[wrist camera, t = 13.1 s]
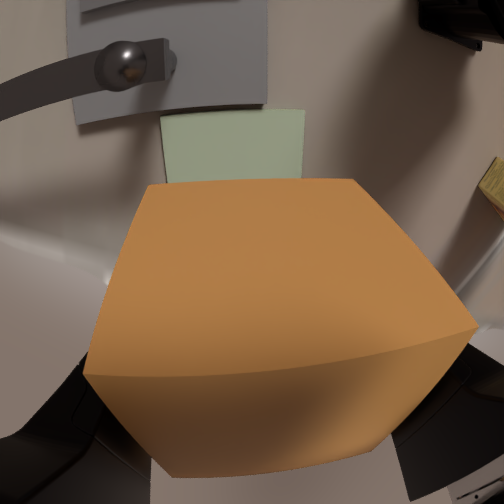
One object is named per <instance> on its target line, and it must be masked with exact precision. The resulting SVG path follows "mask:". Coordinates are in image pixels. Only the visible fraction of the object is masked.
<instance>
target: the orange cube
mask: <svg viewBox="0 0 504 504" xmlns="http://www.w3.org/2000/svg"><path fill="white" fill-rule="evenodd" d="M478 327H479V326H478V324H477V323H476V322H475V320H474V319H473V317H472V316H471V314H470V313H469V312H468V310H467V309H466V308H465V306H464V305H463V303H462V302H461V301H460V299H459V298H458V297H457V295H456V294H455V293H454V291H453V290H452V289H451V288H450V286H449V285H448V284H447V282H446V281H445V280H444V279H443V277H442V276H441V275H440V274H439V272H438V271H437V270H436V269H435V267H434V266H433V265H432V264H431V262H430V261H429V260H428V259H427V258H426V256H425V255H424V254H423V253H422V252H421V251H420V249H419V248H418V247H417V246H416V245H415V244H414V242H413V241H412V240H411V239H410V238H409V237H408V236H407V235H406V233H405V232H404V231H403V230H402V229H401V228H400V227H399V226H398V225H397V224H396V222H395V221H394V220H393V219H392V218H391V217H390V216H389V215H388V214H387V213H386V212H385V211H384V210H383V209H382V208H381V207H380V205H379V204H378V203H377V202H376V201H375V200H374V199H373V198H372V197H371V196H370V195H369V194H368V193H367V192H366V191H365V190H364V189H363V188H362V187H361V186H360V185H359V184H358V183H357V182H356V181H355V180H354V179H331V178H270V179H234V180H212V181H194V182H179V183H165V184H153V185H148V187H147V189H146V191H145V194H144V196H143V198H142V200H141V203H140V205H139V207H138V210H137V212H136V214H135V217H134V219H133V221H132V224H131V226H130V229H129V231H128V234H127V236H126V239H125V241H124V244H123V246H122V249H121V252H120V254H119V257H118V260H117V262H116V265H115V268H114V271H113V273H112V276H111V279H110V282H109V285H108V288H107V291H106V294H105V297H104V300H103V303H102V307H101V309H100V313H99V316H98V319H97V322H96V326H95V329H94V333H93V336H92V340H91V343H90V347H89V351H88V355H87V358H86V362H85V366H84V371H83V375H84V376H85V378H86V379H87V381H88V382H89V383H90V385H91V386H92V388H93V389H94V390H95V392H96V393H97V394H98V396H99V397H100V398H101V400H102V401H103V402H104V403H105V405H106V406H107V407H108V408H109V410H110V411H111V412H112V413H113V415H114V416H115V417H116V418H117V420H118V421H119V422H120V423H121V424H122V425H123V427H124V428H125V429H126V430H127V431H128V432H129V434H130V435H131V436H132V437H133V438H134V439H135V440H136V441H137V442H138V444H139V445H140V446H141V447H142V448H143V449H144V450H145V451H146V452H147V453H148V454H149V455H150V456H151V457H152V458H153V459H154V460H155V461H156V462H157V463H158V464H159V465H160V466H161V467H162V468H163V469H164V470H165V471H166V472H167V473H168V474H169V475H170V476H171V477H172V478H213V477H233V476H245V475H256V474H265V473H272V472H279V471H286V470H293V469H299V468H304V467H309V466H315V465H319V464H324V463H329V462H333V461H337V460H341V459H345V458H349V457H353V456H356V455H360V454H363V453H367V452H370V451H372V450H373V449H374V448H375V447H376V446H378V445H379V444H380V443H381V442H382V441H383V440H384V439H385V438H386V437H387V436H388V435H389V434H390V433H391V432H392V431H393V430H395V429H396V428H397V427H398V426H399V425H400V424H401V423H402V422H403V420H404V419H405V418H406V417H407V416H408V415H409V414H410V413H411V412H412V411H413V410H414V409H415V408H416V407H417V406H418V405H419V403H420V402H421V401H422V400H423V399H424V398H425V397H426V396H427V394H428V393H429V392H430V391H431V390H432V389H433V387H434V386H435V385H436V384H437V383H438V381H439V380H440V379H441V378H442V377H443V375H444V374H445V373H446V372H447V370H448V369H449V368H450V366H451V365H452V364H453V363H454V361H455V360H456V359H457V357H458V356H459V354H460V353H461V352H462V350H463V349H464V348H465V346H466V345H467V343H468V342H469V340H470V339H471V337H472V336H473V335H474V333H475V332H476V330H477V329H478Z"/></svg>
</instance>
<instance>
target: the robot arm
mask: <svg viewBox="0 0 504 504" xmlns="http://www.w3.org/2000/svg"><path fill="white" fill-rule="evenodd" d="M418 1H419V26H420V27H421V29H423V30H424V31H427V32H430V33H433V34H436V35H438V36H441V37H444V38H446V39H449V40H451V41H454V42H456V43H459V44H461V45H463V46H466V47H468V48H470V49H472V50H474V51H479V52H480V51H481V50H482V41H488V42H494V43H499V44H504V0H418ZM425 22H426V23H427V27H426V26H425ZM476 44H477V46H476ZM87 355H88V352H87V353H86V354H85V356H84V357H83V358H82V359H81V361H80V362H79V365H77V366H76V367H75V368H74V370H73V371H72V372H71V373H70V375H69V376H68V377H67V378H66V380H65V381H64V382H63V383H62V385H61V386H60V387H59V388H58V389H57V390H56V391H55V392H54V394H53V395H52V396H51V397H50V398H49V399H48V401H46V402H45V404H44V405H43V406H42V407H41V408H40V409H39V410H38V411H37V412H36V413H35V414H34V415H33V417H32V418H31V419H30V420H29V421H28V422H27V423H26V424H25V425H24V426H23V427H22V428H21V429H20V430H19V431H17V432H15V433H14V434H12V435H10V436H7V437H4V438H1V439H0V504H150V479H151V458H152V457H151V456H150V455H149V454H148V453H147V452H146V451H145V450H144V449H143V448H142V447H141V446H140V445H139V444H138V442H137V441H136V440H135V439H134V438H133V437H132V436H131V435H130V434H129V432H128V431H127V430H126V429H125V428H124V427H123V425H122V424H121V423H120V422H119V421H118V420H117V418H116V417H115V416H114V415H113V413H112V412H111V411H110V410H109V408H108V407H107V406H106V405H105V403H104V402H103V401H102V400H101V398H100V397H99V396H98V394H97V393H96V392H95V390H94V389H93V388H92V386H91V385H90V383H89V382H88V381H87V379H86V378H85V376H84V375H83V371H84V366H85V362H86V358H87ZM391 435H392V439H393V442H394V445H395V448H396V452H397V456H398V460H399V463H400V467H401V470H402V474H403V478H404V482H405V485H406V489H407V493H408V497H409V500H410V502H411V501H414V500H416V499H419V498H421V497H424V496H426V495H428V494H431V493H433V492H435V491H437V490H440V489H442V488H444V487H446V486H447V488H448V491H449V494H450V497H451V500H452V503H453V504H504V366H503V365H502V364H500V363H499V362H497V361H495V360H494V359H492V358H491V357H489V356H488V355H486V354H484V353H483V352H481V351H480V350H478V349H477V348H475V347H474V346H472V345H470V344H469V343H467V345H466V346H465V348H464V349H463V350H462V352H461V353H460V354H459V356H458V357H457V359H456V360H455V361H454V363H453V364H452V365H451V366H450V368H449V369H448V370H447V372H446V373H445V374H444V375H443V377H442V378H441V379H440V380H439V381H438V383H437V384H436V385H435V386H434V387H433V389H432V390H431V391H430V392H429V393H428V394H427V396H426V397H425V398H424V399H423V400H422V401H421V402H420V403H419V405H418V406H417V407H416V408H415V409H414V410H413V411H412V412H411V413H410V414H409V415H408V416H407V417H406V418H405V419H404V420H403V422H402V423H401V424H400V425H399V426H398V427H397V428H396V429H395V430H393V431H392V432H391Z"/></svg>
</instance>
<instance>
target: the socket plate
mask: <svg viewBox="0 0 504 504" xmlns="http://www.w3.org/2000/svg"><path fill="white" fill-rule="evenodd" d="M158 38H166V39H168V40H169V48H170V50H172V51H173V52H174V53H175V55H176V57H177V65H176V68H175V69H174V71H173V72H172V73H171V78H170V79H168V80H164V81H156V82H149V83H144V84H141V85H138V86H135V87H133V88H130V89H128V90H125V91H121V92H112V91H108V90H104V91H99V92H94V93H90V94H86V95H82V96H78V97H74V98H72V99H73V106H74V113H75V120H76V125H80V124H84V123H89V122H93V121H98V120H103V119H109V118H114V117H120V116H125V115H132V114H138V113H145V112H152V111H160V110H168V109H177V108H187V107H199V106H213V105H232V104H267V0H67V45H68V58H71V57H74V56H78V55H81V54H85V53H89V52H92V51H96V50H100V49H104V48H105V47H106V46H107V45H109V44H111V43H113V42H116V41H131V42H139V41H145V40H151V39H158Z"/></svg>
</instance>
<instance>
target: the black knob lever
mask: <svg viewBox="0 0 504 504" xmlns="http://www.w3.org/2000/svg"><path fill="white" fill-rule="evenodd" d="M176 65H177V57H176V55H175V53H174V52H173V51H172V50H170V48H169V40H168V39H166V38H158V39H151V40H145V41H139V42H131V41H116V42H113V43H111V44H109V45H107V46H106V47H105V48H104V49H100V50H96V51H92V52H89V53H85V54H81V55H78V56H74V57H71V58H68V59H64V60H61V61H58V62H55V63H52V64H49V65H46V66H44V67H41V68H38V69H35V70H33V71H30V72H28V73H25V74H23V75H20V76H18V77H15V78H13V79H11V80H9V81H6V82H4V83H2V84H0V121H2V120H5V119H7V118H10V117H13V116H15V115H18V114H21V113H24V112H27V111H30V110H33V109H36V108H39V107H42V106H45V105H49V104H52V103H55V102H59V101H62V100H66V99H70V98H74V97H78V96H82V95H86V94H90V93H94V92H99V91H104V90H108V91H112V92H121V91H125V90H128V89H130V88H133V87H135V86H138V85H141V84H144V83H149V82H156V81H164V80H168V79H170V78H171V73H172V72H173V71H174V69H175V68H176Z"/></svg>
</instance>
